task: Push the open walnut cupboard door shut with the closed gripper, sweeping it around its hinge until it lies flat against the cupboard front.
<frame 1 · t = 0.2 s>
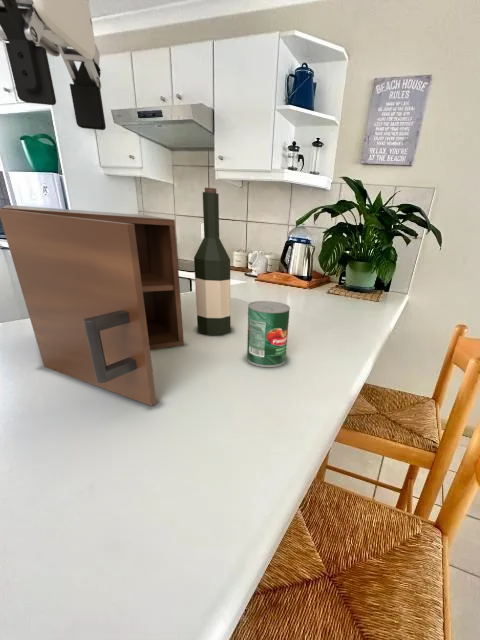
hand: (68, 117, 35), 34 cm above the countertop, tool pointing down, fingers open, 9 cm apart
cupboard: (113, 339, 69), on the countertop
canned tomato: (266, 360, 65), on the countertop
wine bottle: (214, 330, 79), on the countertop
cupboard door: (60, 313, 43), point 12 cm above the countertop, hinge at 60.0°
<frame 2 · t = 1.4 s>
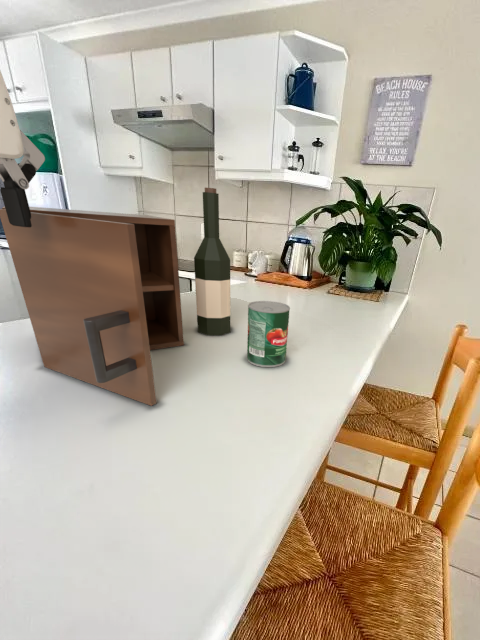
nothing on the countertop moved.
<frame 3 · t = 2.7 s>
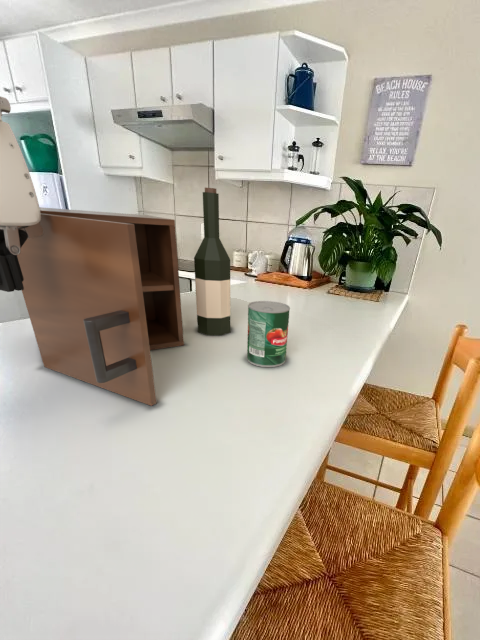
hand: (9, 289, 39), 15 cm above the countertop, tool pointing down, fingers closed
nothing on the countertop moved.
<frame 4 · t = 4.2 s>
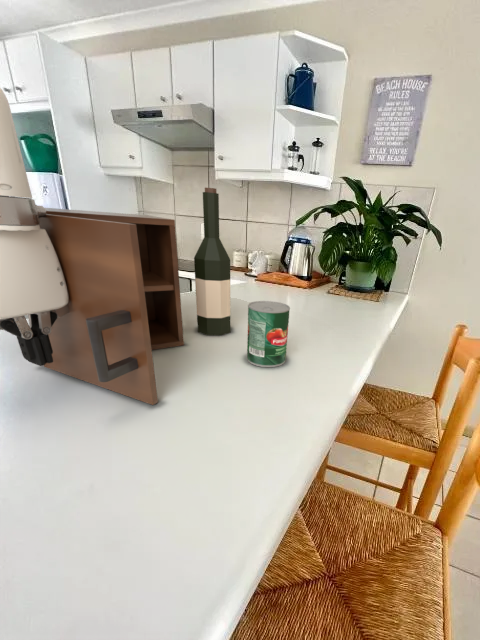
hand: (40, 361, 45), 5 cm above the countertop, tool pointing down, fingers closed
cupboard door: (62, 313, 43), point 12 cm above the countertop, hinge at 59.3°, touching arm
everything else where it was.
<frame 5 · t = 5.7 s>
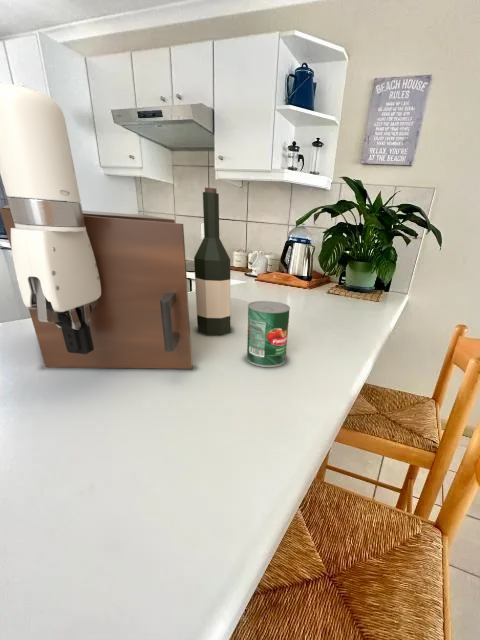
hand: (81, 351, 49), 5 cm above the countertop, tool pointing down, fingers closed
cupboard door: (104, 303, 49), point 12 cm above the countertop, hinge at 27.3°, touching arm
everything else where it was.
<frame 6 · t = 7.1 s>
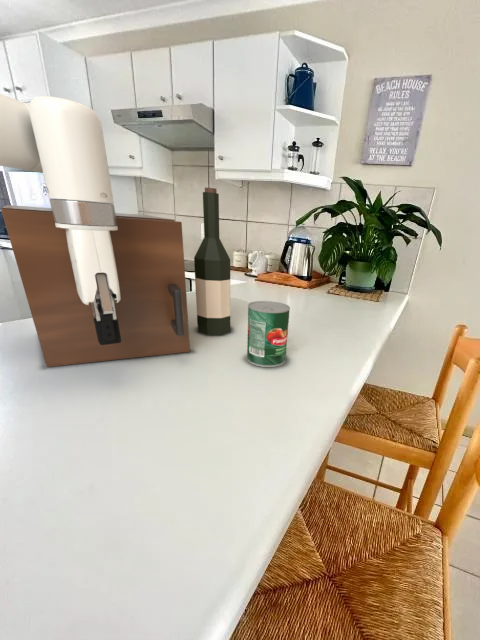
hand: (110, 342, 53), 5 cm above the countertop, tool pointing down, fingers closed
cupboard door: (114, 297, 53), point 12 cm above the countertop, hinge at 7.3°, touching arm
everything else where it was.
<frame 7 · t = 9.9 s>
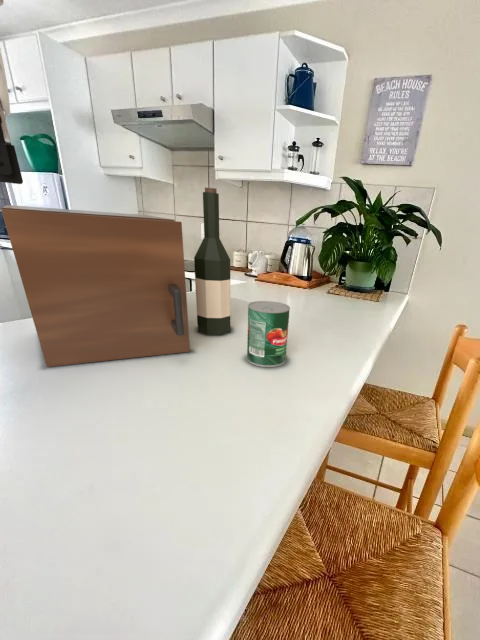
hand: (7, 182, 40), 27 cm above the countertop, tool pointing down, fingers closed
cupboard door: (114, 297, 53), point 12 cm above the countertop, hinge at 7.2°
everything else where it was.
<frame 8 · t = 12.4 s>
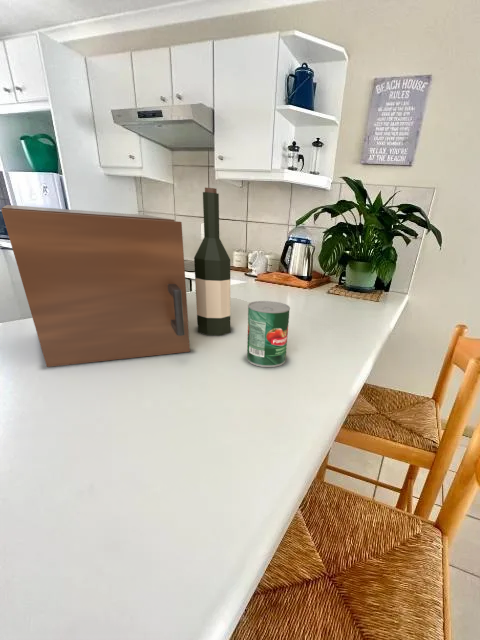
nothing on the countertop moved.
at the end: cupboard door at +7° (first picture: +60°) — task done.
